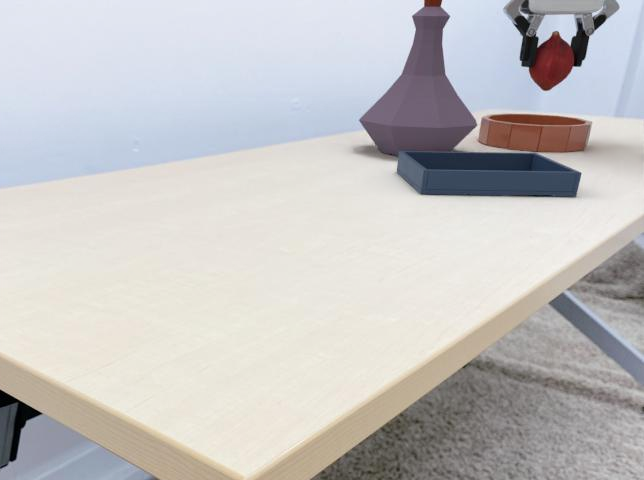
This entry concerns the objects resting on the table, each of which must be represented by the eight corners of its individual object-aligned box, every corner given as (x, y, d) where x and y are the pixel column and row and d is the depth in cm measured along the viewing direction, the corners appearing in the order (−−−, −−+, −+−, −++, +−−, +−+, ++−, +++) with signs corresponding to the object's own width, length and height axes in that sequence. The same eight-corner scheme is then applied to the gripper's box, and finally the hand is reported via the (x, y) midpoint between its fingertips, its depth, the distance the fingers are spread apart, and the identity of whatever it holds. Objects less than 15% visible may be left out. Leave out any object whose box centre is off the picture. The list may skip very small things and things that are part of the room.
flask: (494, 151, 99) (521, -7, 91) (447, 167, 88) (474, -12, 80) (386, 139, 109) (402, -5, 101) (331, 152, 98) (345, -9, 89)
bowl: (560, 137, 112) (565, 114, 111) (604, 152, 99) (610, 126, 97) (467, 135, 113) (470, 113, 111) (498, 151, 99) (503, 125, 98)
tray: (531, 174, 84) (536, 152, 83) (576, 196, 73) (581, 172, 72) (396, 172, 85) (398, 150, 84) (420, 194, 74) (423, 170, 73)
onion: (576, 92, 100) (587, 30, 96) (535, 92, 100) (545, 30, 96) (556, 89, 105) (567, 30, 102) (518, 89, 105) (527, 31, 102)
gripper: (628, -76, 97) (599, 65, 104) (500, -74, 98) (480, 66, 105) (658, -85, 90) (626, 67, 97) (520, -82, 91) (498, 68, 98)
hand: (550, 65), depth 101 cm, fingers closed on onion, 5 cm apart
